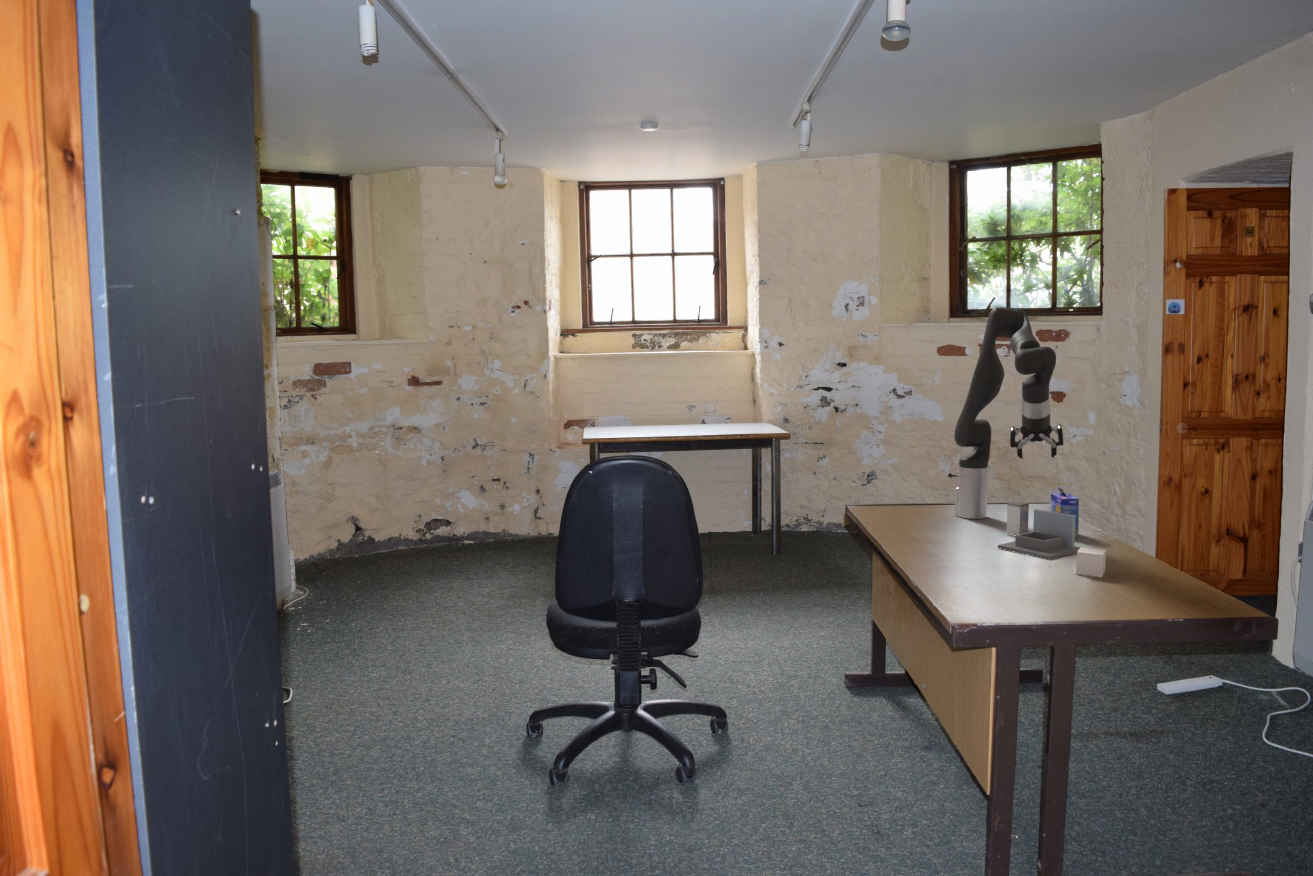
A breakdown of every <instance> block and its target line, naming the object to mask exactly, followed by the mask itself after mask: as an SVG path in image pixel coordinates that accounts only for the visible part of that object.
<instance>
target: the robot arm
mask: <svg viewBox="0 0 1313 876" xmlns="http://www.w3.org/2000/svg"><path fill="white" fill-rule="evenodd" d="M998 338H1001V339H1010V342H1009V345H1010V346H1009V347H1010V349H1011V351H1012V353H1013V354H1014V368H1015V370H1016V371H1017V373H1019V374H1020V375H1023V376H1025V375H1026V376H1027V375H1029V376H1028V377H1026V378H1025V379H1023V381H1022V384H1021V395H1022V399H1021V410H1020V411H1021V427H1015V426H1011V427H1010V431H1009V432H1010V433H1009V442H1010V443H1009V444H1010V445H1009V446H1010V448H1016V452H1017V453H1016V455H1017V457H1018V458H1019V459H1020V460H1022V459H1024V458H1023V447H1024V446H1025V445H1026V444H1028V443H1029V442H1031V443H1035V442H1043V441H1045V442H1046V444H1048V445H1049V446H1050V458H1053V459H1054V458H1055V457H1056V456H1057V447H1059V446H1061V447H1062V446H1063V445H1064V434H1063V433H1064V432H1063V426H1062V425H1063V424H1061V423H1058V424H1057V425H1055V426H1052V425H1051V411H1052V409H1051V401H1050V383H1051V379H1052V377H1053V373H1054V370H1055V368H1056V365H1057V354H1056V352H1055V350H1054V349H1053V348H1051V347H1050V346H1041V345H1040V343H1039V341H1038V340H1037V338H1036V337H1035V336H1034V333H1033V330H1032V326H1031V322H1030V318H1029V315H1028V314H1027V312H1026V311H1025V310H1023V309H1020V308H1015V307H1012V308H1011V307H1004V306H994V307H993V308H992V309H991V310H990V311H989V315H988V318H987V320H986V326H985V331H984V334H983V339H982V343H981V349H980V351H979V355H978V359H977V362H976V364H975V368H974V371H973V375H972V377H971V381H970V385H969V390H968V392H967V395H966V398H965V401H964V405H963V407H962V410H961V412H960V415H959V417H958V419H957V422H956V425H955V429H954V435H953V436H954V437H953V438H954V442H955V443H956V445H957V446H958V447H962V448H973V450H972V451H971V452H970V453H968V454H966V455H963V456H961V457H960V458H959V460H958V487H956V488H955V507H954V508H955V509H954V515H955V516H957V517H960V518H962V519H970V520H971V519H972V520H979V519H986V518H987V508H988V507H987V506H988V505H987V504H988V482H989V481H988V479H989V478H988V477H989V475H988V473H989V471H988V469H989V460H990V457H991V456H990V455H991V454H990V453H991V443H992V427H991V424H990V422H989V420H987V419H983V418H982V419H978V418H977V417H978V416H979V414H980V413H981V412H982V411H983V410H984V409H985V408H986V407H987V406H988V405H989V404H991V402H992V401H994V399H995V398H996V397H997V396H998V394H999V393H1000V391H1001V388H1002V385H1003V382H1004V378H1005V370H1004V366H1003V364H1002V362H1001V360H1000V358H999V355H998V351H997V347H996V342H997V339H998ZM1053 432H1054V434H1056V435H1057V439H1055V438H1054V437H1053V436H1052V435H1051V434H1052V433H1053ZM1019 434H1021V436H1020V438H1019V439H1018V440H1017V441H1016V437H1017V436H1019Z"/></svg>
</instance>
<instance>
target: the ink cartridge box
mask: <svg viewBox="0 0 1313 876" xmlns="http://www.w3.org/2000/svg"><path fill="white" fill-rule="evenodd" d="M1057 489H1058V491H1059V492H1051V493H1050V511H1051V512H1057V513H1063V514H1069V515H1075V516H1076V521H1075V537H1077V538H1079V532H1080V531H1079V522H1080V521H1079V519H1080V518H1079V516H1080V515H1079V514H1080V513H1079V512H1080V511H1079V510H1080V507H1079V506H1080V505H1079V503H1080V500H1079V498H1078V497H1077V496H1074V495H1072V494H1071V493H1068V492H1065V491H1064V489H1062V488H1061V487H1057Z"/></svg>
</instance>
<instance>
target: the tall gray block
mask: <svg viewBox="0 0 1313 876" xmlns="http://www.w3.org/2000/svg"><path fill="white" fill-rule="evenodd" d="M1006 505H1007V511H1006V534H1012V535H1020V534H1024V533H1029V513H1030V510H1029V508H1030V507H1029V506H1030V503H1028V502H1024V501H1017V500H1016V501H1015V500H1014V501H1010V502H1007V504H1006ZM1006 534H1005V535H1006Z"/></svg>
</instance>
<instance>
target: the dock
mask: <svg viewBox="0 0 1313 876" xmlns="http://www.w3.org/2000/svg"><path fill="white" fill-rule="evenodd" d="M1075 521H1076V516H1075V515H1069V514H1063V513H1057V512H1051V510H1045V509H1039V508H1037V509H1033V524H1032V525H1033V527H1032V531H1028V533H1024V534H1020V535H1016V536H1015V540H1014V541H1010V542H1006V543H1001V544H998V545H997V549H998V548H1001V549H1000V550H1002V549H1006V550H1005V551H1007V550H1010V551H1009V552H1012V551H1015V552H1014V553H1016V552H1019V553H1018V554H1021V553H1024V554H1023V555H1025V554H1029V555H1028V556H1030V555H1034V556H1033V557H1035V556H1038V557H1037V558H1039V557H1042V558H1041V559H1044V558H1045V560H1048V559H1050V560H1053V559H1057V558H1060V556H1061V557H1065V556H1068V555H1071V554H1075V553H1076V554H1077V551H1078V550H1079V549H1080V548H1081V546H1075V542H1076V541H1075V539H1076V538H1075ZM1064 555H1065V556H1064ZM1056 557H1057V558H1056Z"/></svg>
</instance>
